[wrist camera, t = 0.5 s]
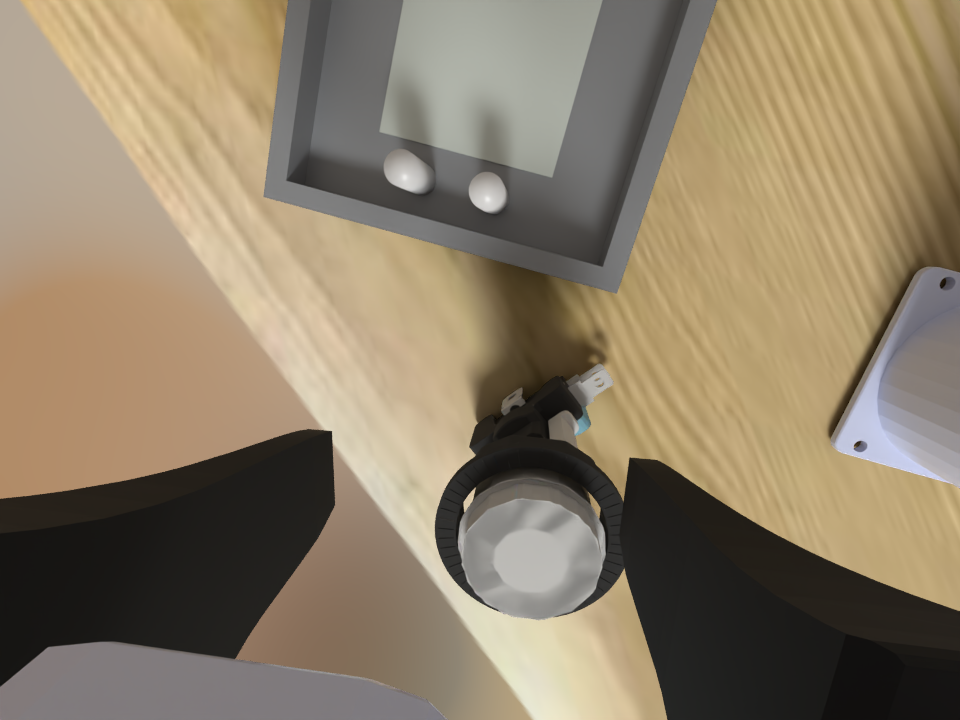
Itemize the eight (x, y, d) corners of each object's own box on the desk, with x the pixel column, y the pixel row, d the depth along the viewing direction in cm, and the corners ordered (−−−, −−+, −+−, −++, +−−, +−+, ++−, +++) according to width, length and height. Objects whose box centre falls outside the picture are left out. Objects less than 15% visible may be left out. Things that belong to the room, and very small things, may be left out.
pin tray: (765, -184, 15) (838, -319, 12) (607, 287, 20) (624, 298, 16) (361, -277, 16) (309, -433, 12) (293, 201, 20) (239, 192, 16)
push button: (569, 319, 20) (603, 391, 10) (638, 414, 21) (731, 562, 11) (451, 404, 22) (385, 535, 12) (519, 489, 22) (510, 677, 13)
